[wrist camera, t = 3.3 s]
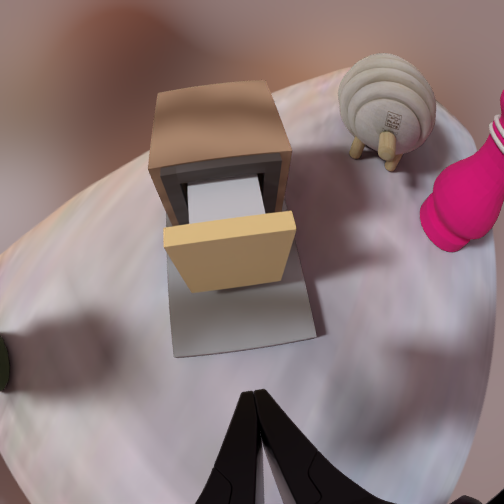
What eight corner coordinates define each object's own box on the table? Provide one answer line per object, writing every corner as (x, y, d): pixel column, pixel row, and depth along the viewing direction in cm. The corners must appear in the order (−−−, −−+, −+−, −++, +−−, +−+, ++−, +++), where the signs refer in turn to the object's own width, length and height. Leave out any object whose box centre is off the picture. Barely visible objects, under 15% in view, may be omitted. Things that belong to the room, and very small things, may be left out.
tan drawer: (280, 280, 19) (296, 229, 13) (191, 293, 19) (163, 247, 12) (254, 159, 24) (256, 92, 17) (185, 168, 23) (169, 103, 17)
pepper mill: (438, 188, 26) (526, 49, 8) (476, 239, 24) (588, 117, 6) (402, 210, 25) (507, 37, 7) (444, 269, 22) (592, 126, 4)
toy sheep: (404, 117, 32) (431, 54, 22) (418, 215, 25) (477, 139, 15) (332, 94, 33) (348, 24, 23) (320, 186, 26) (350, 88, 16)
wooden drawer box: (313, 338, 20) (360, 307, 11) (177, 358, 19) (124, 340, 11) (269, 153, 27) (275, 73, 19) (169, 166, 27) (146, 89, 18)
